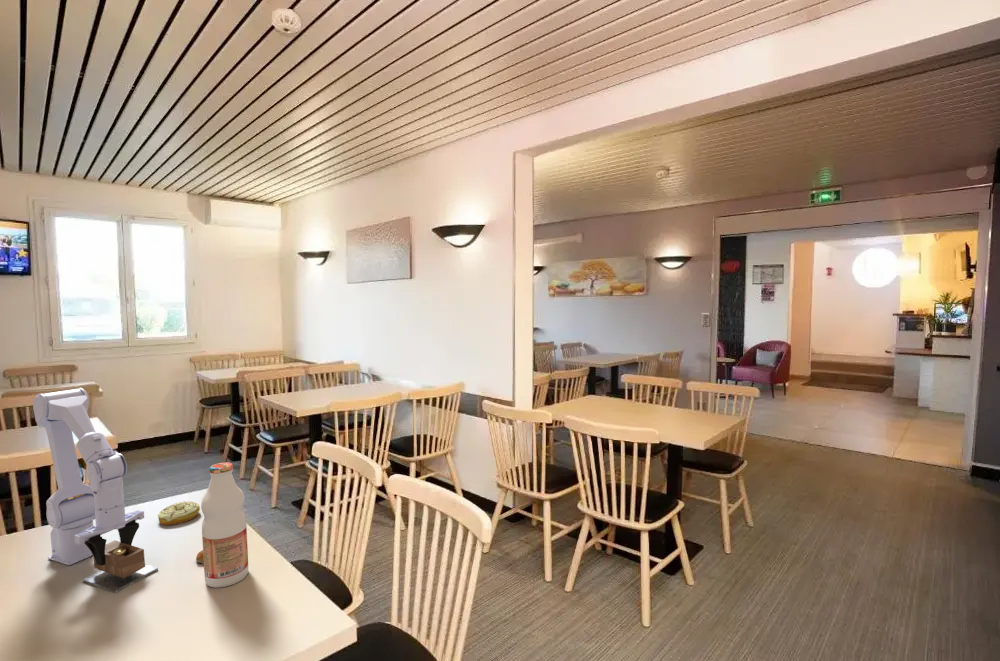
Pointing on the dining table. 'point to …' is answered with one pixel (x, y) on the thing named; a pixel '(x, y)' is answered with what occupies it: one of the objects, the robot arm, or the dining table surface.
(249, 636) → the dining table surface
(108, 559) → the block
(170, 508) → the decorated donut
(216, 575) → the fruit juice
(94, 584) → the hook plate
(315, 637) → the dining table surface
